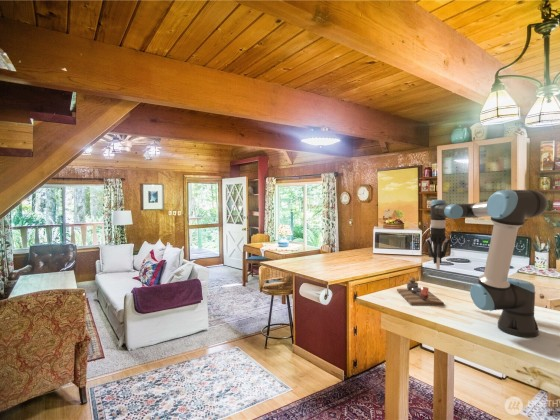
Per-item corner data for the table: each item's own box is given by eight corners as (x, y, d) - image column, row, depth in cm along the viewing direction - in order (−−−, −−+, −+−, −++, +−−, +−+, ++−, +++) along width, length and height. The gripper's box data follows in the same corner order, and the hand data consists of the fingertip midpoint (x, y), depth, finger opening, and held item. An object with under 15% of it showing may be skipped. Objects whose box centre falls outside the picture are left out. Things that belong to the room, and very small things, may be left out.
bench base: (443, 305, 183) (444, 288, 182) (410, 305, 184) (410, 288, 183) (425, 291, 209) (426, 276, 208) (396, 291, 210) (397, 276, 209)
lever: (430, 300, 185) (431, 288, 185) (420, 300, 186) (420, 288, 185) (418, 290, 205) (418, 279, 205) (408, 290, 205) (409, 279, 205)
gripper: (446, 226, 188) (446, 267, 190) (423, 226, 189) (422, 267, 190) (453, 228, 181) (452, 270, 182) (428, 228, 182) (427, 270, 183)
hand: (437, 268), depth 186 cm, fingers closed
